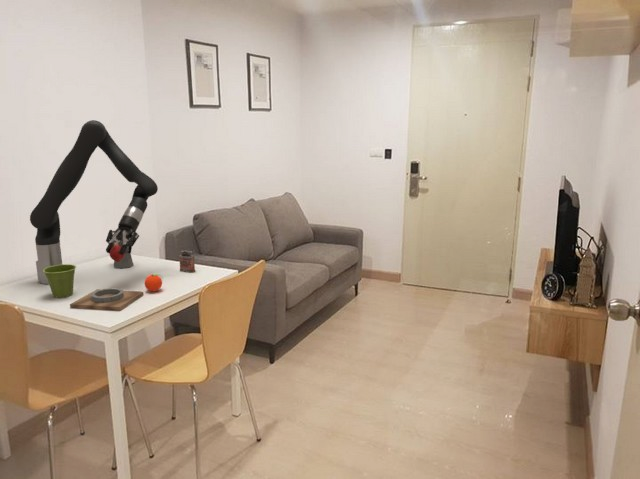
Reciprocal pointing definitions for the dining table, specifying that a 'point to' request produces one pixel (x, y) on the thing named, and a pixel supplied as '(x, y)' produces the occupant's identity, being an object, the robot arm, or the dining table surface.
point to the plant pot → (60, 279)
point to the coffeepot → (124, 258)
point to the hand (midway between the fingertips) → (114, 253)
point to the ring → (113, 298)
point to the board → (113, 306)
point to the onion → (116, 253)
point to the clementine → (153, 282)
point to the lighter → (187, 262)
